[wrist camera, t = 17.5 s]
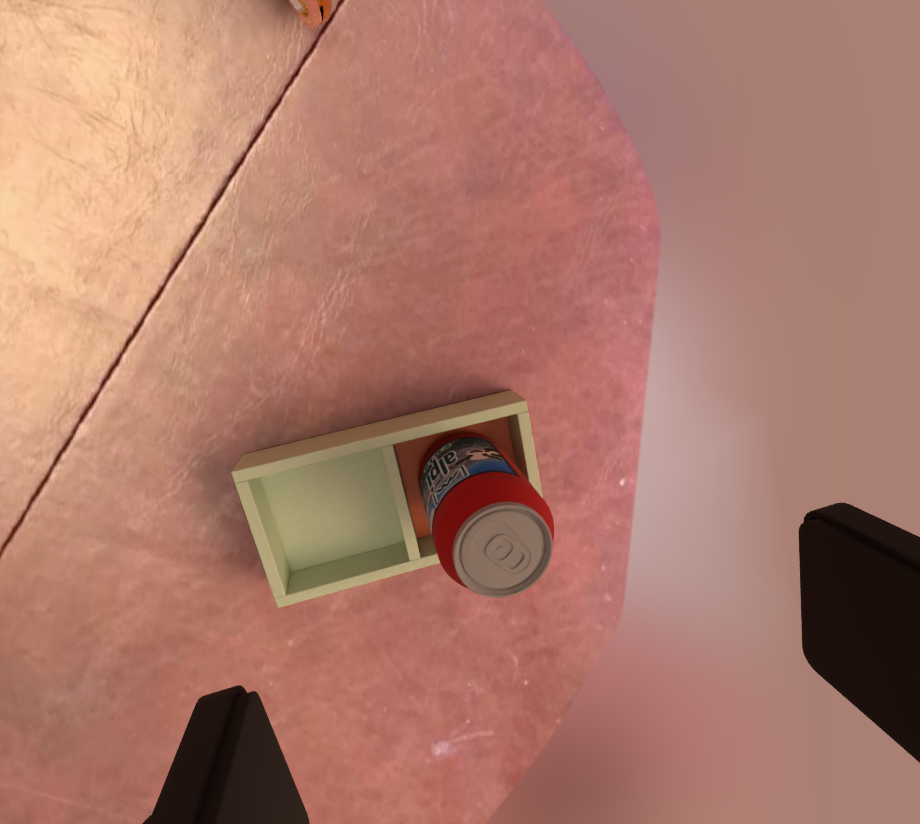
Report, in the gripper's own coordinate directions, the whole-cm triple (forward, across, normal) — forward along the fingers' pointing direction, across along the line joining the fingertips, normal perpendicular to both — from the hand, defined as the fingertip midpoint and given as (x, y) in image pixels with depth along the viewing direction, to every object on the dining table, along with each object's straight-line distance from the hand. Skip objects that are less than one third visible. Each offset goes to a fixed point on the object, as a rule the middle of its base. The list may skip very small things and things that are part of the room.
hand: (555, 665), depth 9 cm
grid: (+30, +3, +8) cm, 31 cm away
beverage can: (+29, -2, +8) cm, 30 cm away
